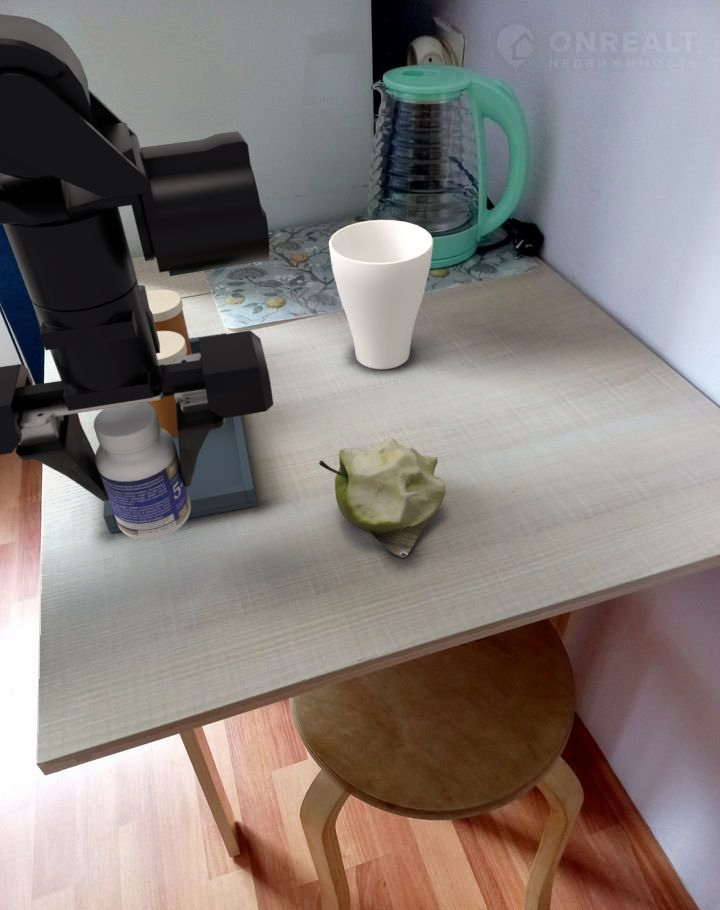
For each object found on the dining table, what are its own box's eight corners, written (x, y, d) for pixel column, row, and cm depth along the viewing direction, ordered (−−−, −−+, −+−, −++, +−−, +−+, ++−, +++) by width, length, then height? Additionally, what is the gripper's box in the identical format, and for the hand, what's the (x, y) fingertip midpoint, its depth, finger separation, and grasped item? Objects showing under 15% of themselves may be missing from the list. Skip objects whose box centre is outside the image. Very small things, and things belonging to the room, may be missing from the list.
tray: (109, 533, 60) (103, 516, 59) (117, 365, 80) (112, 349, 78) (257, 506, 62) (254, 488, 61) (228, 348, 82) (226, 332, 80)
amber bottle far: (151, 392, 74) (130, 316, 69) (150, 366, 78) (130, 293, 72) (198, 384, 75) (182, 309, 69) (196, 359, 79) (180, 286, 73)
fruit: (321, 548, 60) (302, 469, 56) (371, 487, 66) (357, 412, 62) (420, 570, 55) (407, 486, 51) (463, 502, 62) (455, 423, 58)
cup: (380, 393, 74) (378, 275, 65) (317, 355, 80) (307, 241, 71) (448, 354, 79) (455, 239, 70) (383, 321, 85) (382, 211, 76)
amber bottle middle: (152, 442, 68) (129, 363, 62) (151, 411, 72) (129, 335, 66) (204, 433, 69) (186, 355, 63) (200, 403, 73) (183, 327, 67)
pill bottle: (199, 528, 50) (173, 430, 44) (124, 551, 48) (87, 453, 43) (183, 481, 54) (158, 386, 48) (113, 502, 52) (78, 405, 46)
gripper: (237, 211, 47) (265, 402, 57) (-64, 247, 44) (22, 441, 54) (258, 288, 38) (286, 495, 49) (-112, 339, 35) (1, 547, 46)
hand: (147, 489), depth 49 cm, fingers closed on pill bottle, 5 cm apart
